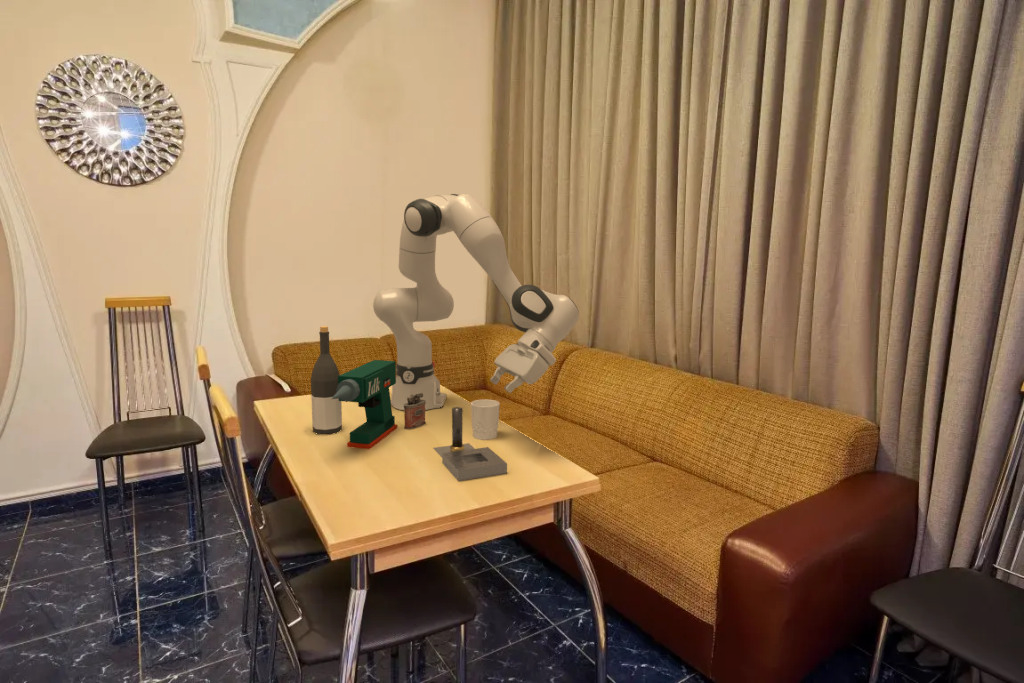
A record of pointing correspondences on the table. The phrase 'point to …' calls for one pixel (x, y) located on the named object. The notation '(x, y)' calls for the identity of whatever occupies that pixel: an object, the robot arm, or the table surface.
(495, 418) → the white cup
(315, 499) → the table surface
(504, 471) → the grey square frame
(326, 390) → the wine bottle
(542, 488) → the table surface
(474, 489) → the table surface
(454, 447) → the dark grey peg
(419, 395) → the lighter
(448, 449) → the grey square plate
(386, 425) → the power tool
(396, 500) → the table surface
